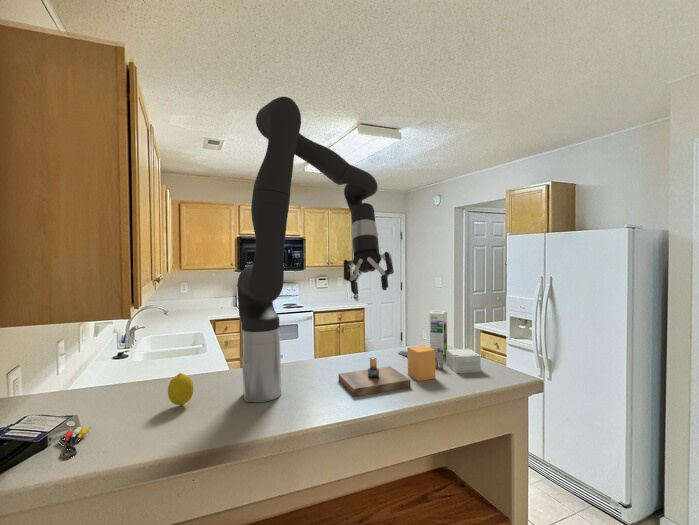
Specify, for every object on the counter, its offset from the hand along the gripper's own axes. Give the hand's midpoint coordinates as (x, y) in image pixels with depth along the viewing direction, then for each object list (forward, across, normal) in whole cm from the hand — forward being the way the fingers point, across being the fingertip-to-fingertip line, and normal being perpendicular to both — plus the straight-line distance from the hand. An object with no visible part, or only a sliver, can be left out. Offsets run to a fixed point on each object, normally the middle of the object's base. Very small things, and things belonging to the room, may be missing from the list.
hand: (370, 292), depth 101 cm
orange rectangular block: (+24, +8, +14) cm, 29 cm away
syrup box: (+16, +11, +38) cm, 43 cm away
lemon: (+26, -42, -24) cm, 55 cm away
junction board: (+24, -3, +4) cm, 25 cm away
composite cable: (+32, -49, -44) cm, 73 cm away
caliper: (+19, +5, +28) cm, 34 cm away
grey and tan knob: (+23, -2, +3) cm, 23 cm away
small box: (+23, +19, +25) cm, 39 cm away
